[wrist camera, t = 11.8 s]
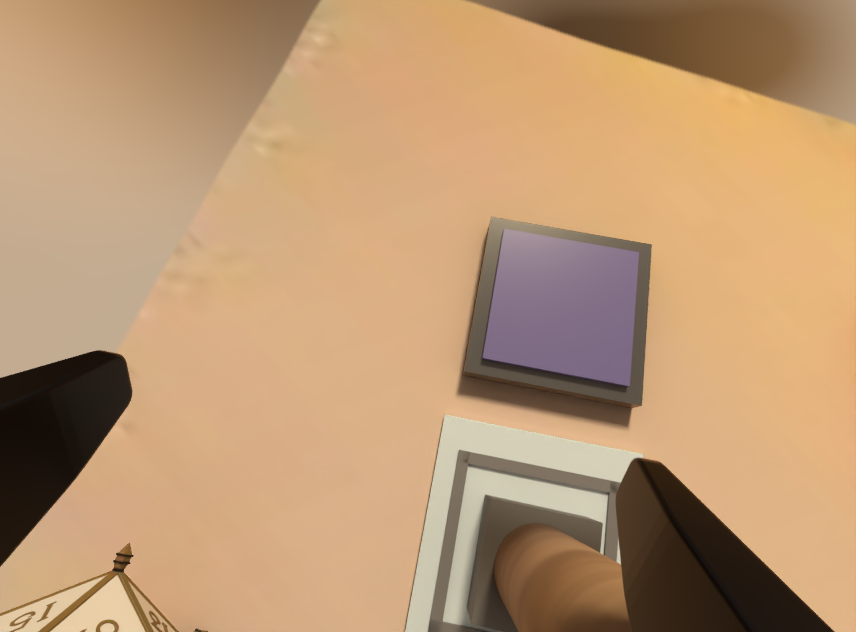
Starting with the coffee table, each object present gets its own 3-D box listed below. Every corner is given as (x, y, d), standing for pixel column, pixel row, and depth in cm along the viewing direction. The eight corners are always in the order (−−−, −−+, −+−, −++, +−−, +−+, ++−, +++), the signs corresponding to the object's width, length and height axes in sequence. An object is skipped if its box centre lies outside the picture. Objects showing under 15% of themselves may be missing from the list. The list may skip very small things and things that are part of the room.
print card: (624, 716, 18) (629, 723, 18) (399, 664, 19) (398, 669, 18) (640, 454, 21) (644, 454, 20) (444, 415, 21) (444, 414, 21)
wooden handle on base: (574, 632, 19) (868, 986, 6) (466, 606, 19) (540, 897, 6) (586, 516, 20) (849, 616, 7) (484, 494, 20) (576, 554, 8)
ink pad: (632, 407, 21) (644, 404, 20) (462, 374, 22) (464, 370, 21) (642, 253, 24) (654, 241, 23) (488, 226, 24) (492, 213, 23)
